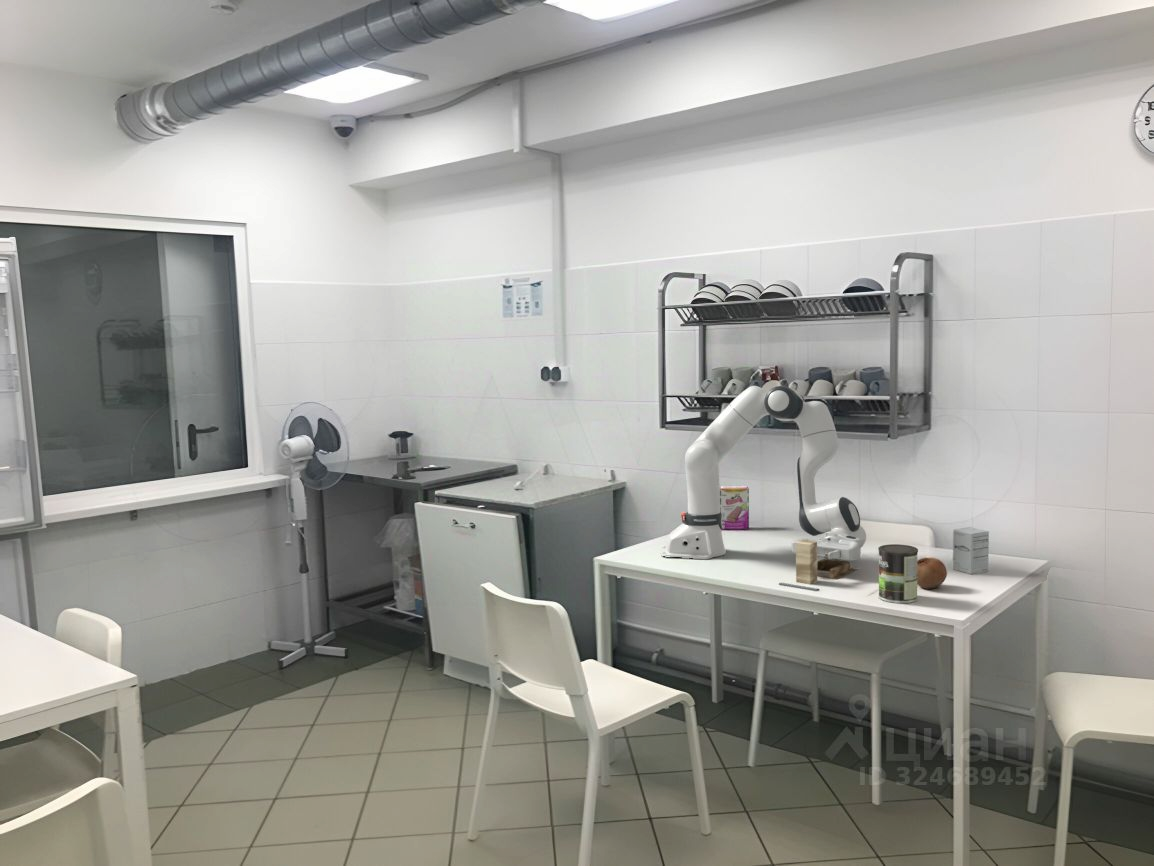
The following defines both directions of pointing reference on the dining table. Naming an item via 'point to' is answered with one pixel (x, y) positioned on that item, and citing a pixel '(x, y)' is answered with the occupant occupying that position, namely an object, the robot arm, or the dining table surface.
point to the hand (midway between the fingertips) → (812, 554)
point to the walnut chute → (833, 568)
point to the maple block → (806, 562)
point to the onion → (930, 573)
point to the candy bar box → (734, 507)
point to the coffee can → (898, 573)
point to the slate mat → (799, 586)
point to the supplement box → (970, 550)
